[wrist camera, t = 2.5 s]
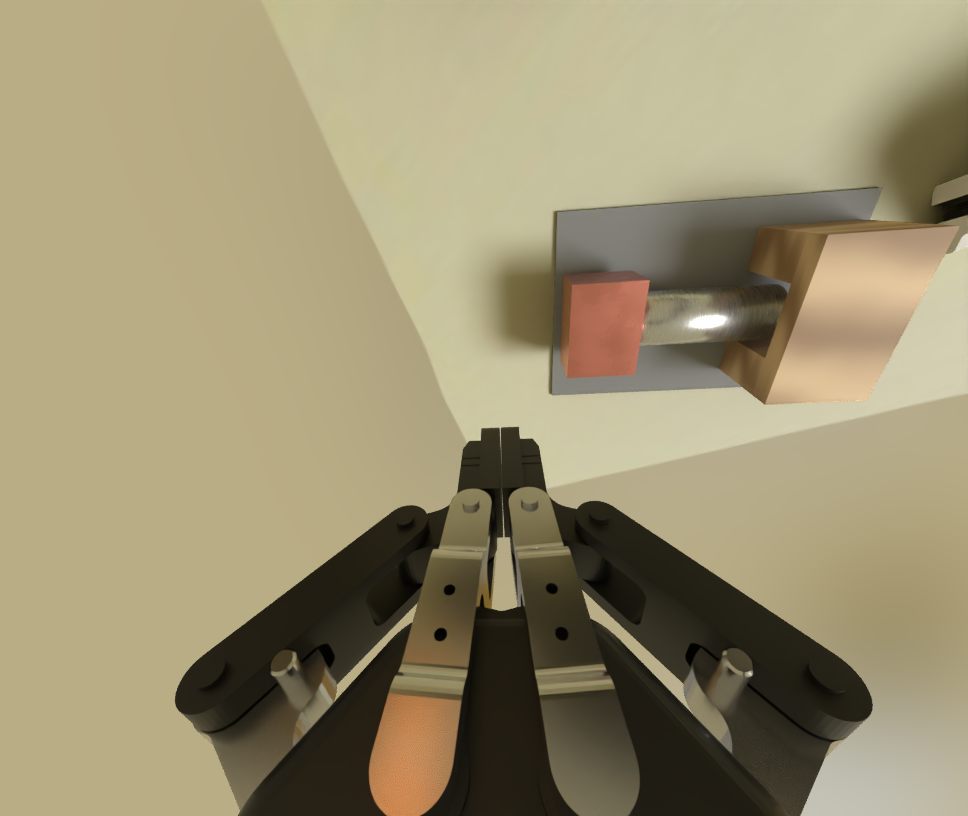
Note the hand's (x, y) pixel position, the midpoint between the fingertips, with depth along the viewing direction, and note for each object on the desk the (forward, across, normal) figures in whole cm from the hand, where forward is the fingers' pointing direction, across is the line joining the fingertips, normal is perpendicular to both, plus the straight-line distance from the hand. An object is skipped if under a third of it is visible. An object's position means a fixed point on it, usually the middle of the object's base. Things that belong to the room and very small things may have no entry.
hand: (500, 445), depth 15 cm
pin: (+17, -13, 0) cm, 21 cm away
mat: (+18, -16, 0) cm, 24 cm away
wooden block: (+18, -23, 0) cm, 29 cm away
